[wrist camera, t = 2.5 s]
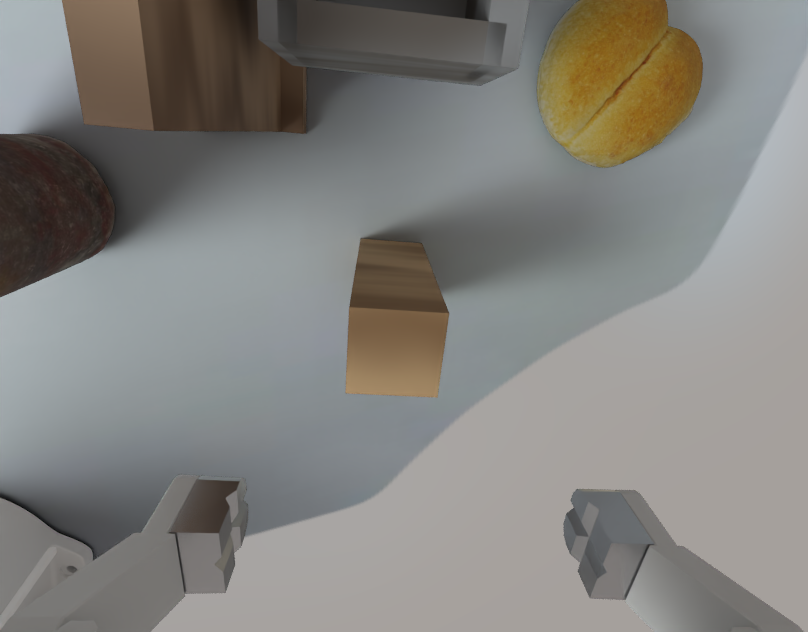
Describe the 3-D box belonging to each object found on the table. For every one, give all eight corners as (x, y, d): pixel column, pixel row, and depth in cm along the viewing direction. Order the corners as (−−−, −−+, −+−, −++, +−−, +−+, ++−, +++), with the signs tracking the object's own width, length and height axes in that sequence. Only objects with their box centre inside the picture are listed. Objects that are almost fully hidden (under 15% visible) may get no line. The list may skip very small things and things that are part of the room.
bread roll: (612, -45, 23) (657, -78, 19) (700, 84, 26) (754, 76, 22) (499, 83, 25) (520, 74, 22) (592, 190, 28) (624, 199, 24)
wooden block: (415, 299, 30) (437, 397, 19) (357, 296, 30) (345, 393, 19) (421, 243, 28) (449, 313, 17) (360, 238, 28) (349, 307, 17)
